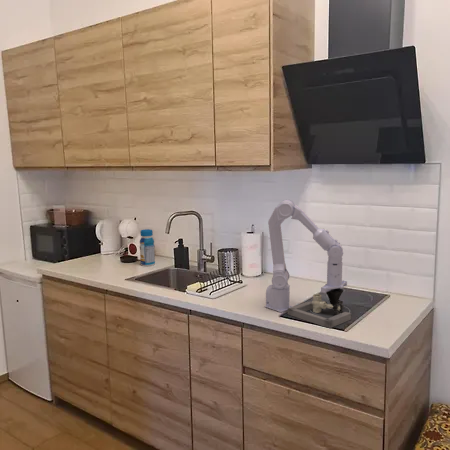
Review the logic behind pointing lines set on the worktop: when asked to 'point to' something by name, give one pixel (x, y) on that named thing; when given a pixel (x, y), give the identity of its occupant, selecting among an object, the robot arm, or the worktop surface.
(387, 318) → the worktop surface
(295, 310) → the chassis bay
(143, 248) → the beverage bottle
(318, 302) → the valve
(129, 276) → the worktop surface
